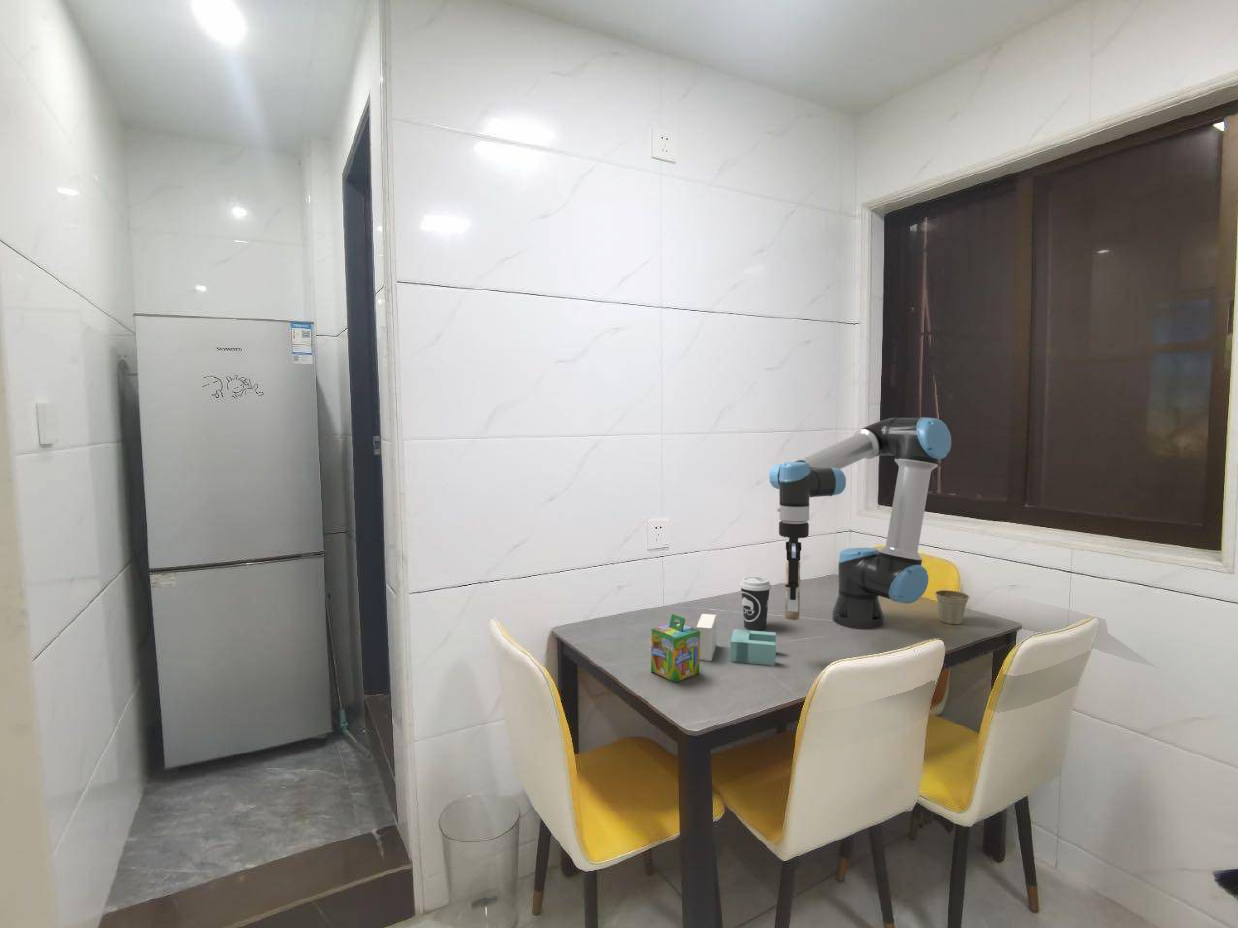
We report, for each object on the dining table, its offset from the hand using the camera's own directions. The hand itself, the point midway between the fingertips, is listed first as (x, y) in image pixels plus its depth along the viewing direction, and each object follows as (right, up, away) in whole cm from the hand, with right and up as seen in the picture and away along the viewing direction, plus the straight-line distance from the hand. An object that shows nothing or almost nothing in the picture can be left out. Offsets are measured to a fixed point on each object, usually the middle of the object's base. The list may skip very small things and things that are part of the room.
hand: (792, 608), depth 161 cm
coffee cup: (-4, -12, +26) cm, 29 cm away
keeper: (-9, -14, +4) cm, 17 cm away
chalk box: (-32, -16, -5) cm, 36 cm away
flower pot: (+58, -11, +29) cm, 66 cm away
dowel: (0, -3, 0) cm, 3 cm away
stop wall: (-22, -14, +7) cm, 27 cm away
